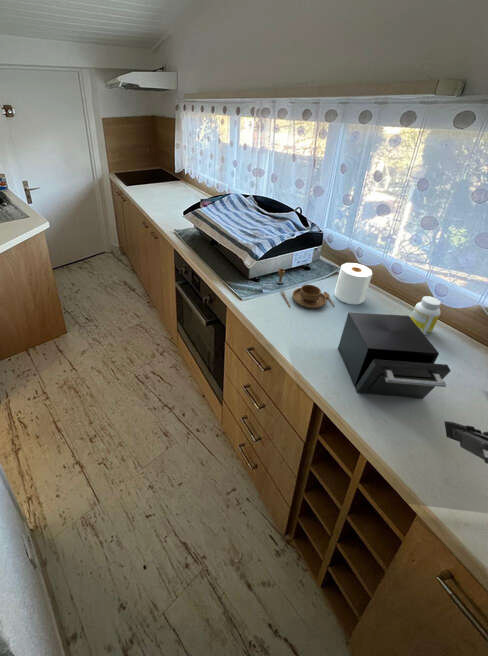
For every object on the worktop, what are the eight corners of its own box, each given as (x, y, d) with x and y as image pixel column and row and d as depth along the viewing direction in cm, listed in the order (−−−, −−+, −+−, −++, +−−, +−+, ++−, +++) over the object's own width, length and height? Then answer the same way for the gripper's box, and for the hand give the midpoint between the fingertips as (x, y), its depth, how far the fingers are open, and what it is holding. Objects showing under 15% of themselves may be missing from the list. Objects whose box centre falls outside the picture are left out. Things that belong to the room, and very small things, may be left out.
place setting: (290, 311, 109) (292, 297, 106) (274, 280, 127) (276, 268, 124) (338, 309, 110) (342, 296, 107) (315, 279, 127) (318, 267, 124)
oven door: (429, 411, 75) (458, 384, 66) (360, 405, 77) (380, 377, 68) (420, 392, 79) (447, 364, 70) (354, 387, 80) (373, 358, 72)
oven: (419, 392, 79) (439, 353, 72) (354, 387, 81) (368, 348, 74) (393, 352, 91) (408, 315, 85) (337, 348, 93) (348, 312, 86)
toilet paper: (353, 288, 121) (360, 261, 116) (369, 303, 112) (379, 275, 107) (329, 290, 120) (335, 263, 115) (343, 306, 111) (351, 277, 106)
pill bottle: (431, 327, 101) (444, 298, 95) (431, 338, 96) (445, 309, 91) (407, 320, 104) (419, 292, 99) (406, 330, 99) (419, 302, 94)
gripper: (651, 449, 36) (483, 411, 58) (528, 438, 37) (410, 404, 60) (676, 527, 34) (491, 455, 56) (544, 511, 35) (415, 448, 57)
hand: (449, 429), depth 58 cm, fingers closed
